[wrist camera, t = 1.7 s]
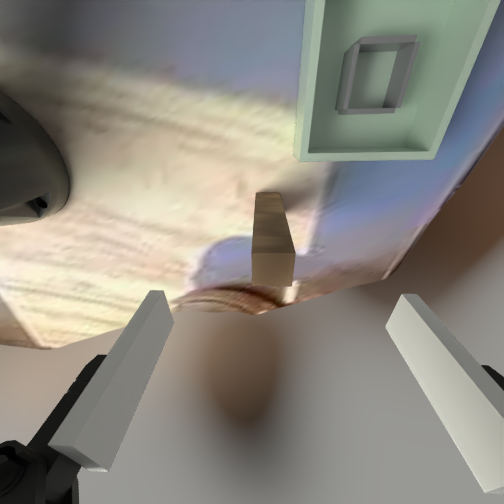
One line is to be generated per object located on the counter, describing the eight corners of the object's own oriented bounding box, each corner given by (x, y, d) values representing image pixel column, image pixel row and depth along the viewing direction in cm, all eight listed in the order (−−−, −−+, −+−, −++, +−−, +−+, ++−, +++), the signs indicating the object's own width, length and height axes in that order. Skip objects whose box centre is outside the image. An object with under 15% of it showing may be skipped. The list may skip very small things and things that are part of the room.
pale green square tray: (293, 155, 23) (299, 161, 20) (306, -12, 17) (320, -51, 13) (405, 153, 23) (433, 159, 19) (464, -20, 16) (527, -63, 12)
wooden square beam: (256, 215, 28) (252, 286, 16) (255, 193, 26) (251, 253, 14) (278, 215, 27) (291, 286, 16) (279, 192, 26) (295, 253, 14)
